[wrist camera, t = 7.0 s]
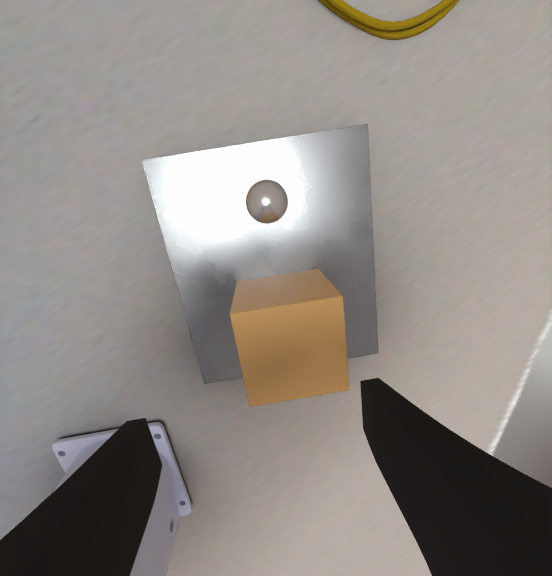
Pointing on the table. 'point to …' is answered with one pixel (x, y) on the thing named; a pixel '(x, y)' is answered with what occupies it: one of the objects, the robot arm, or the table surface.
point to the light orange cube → (290, 336)
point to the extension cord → (385, 27)
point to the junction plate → (267, 230)
